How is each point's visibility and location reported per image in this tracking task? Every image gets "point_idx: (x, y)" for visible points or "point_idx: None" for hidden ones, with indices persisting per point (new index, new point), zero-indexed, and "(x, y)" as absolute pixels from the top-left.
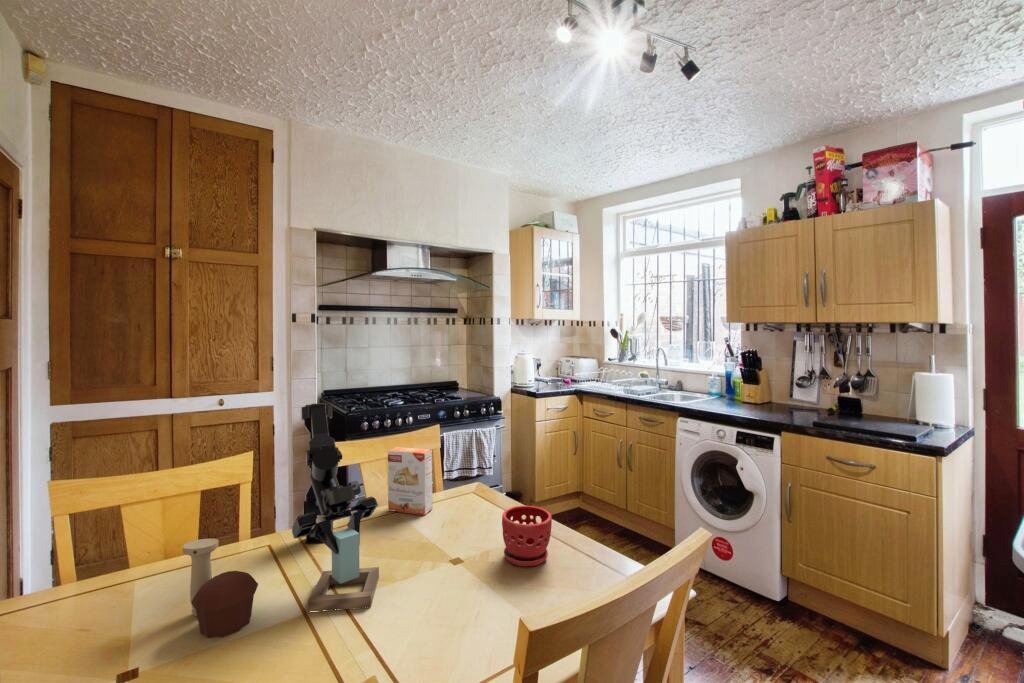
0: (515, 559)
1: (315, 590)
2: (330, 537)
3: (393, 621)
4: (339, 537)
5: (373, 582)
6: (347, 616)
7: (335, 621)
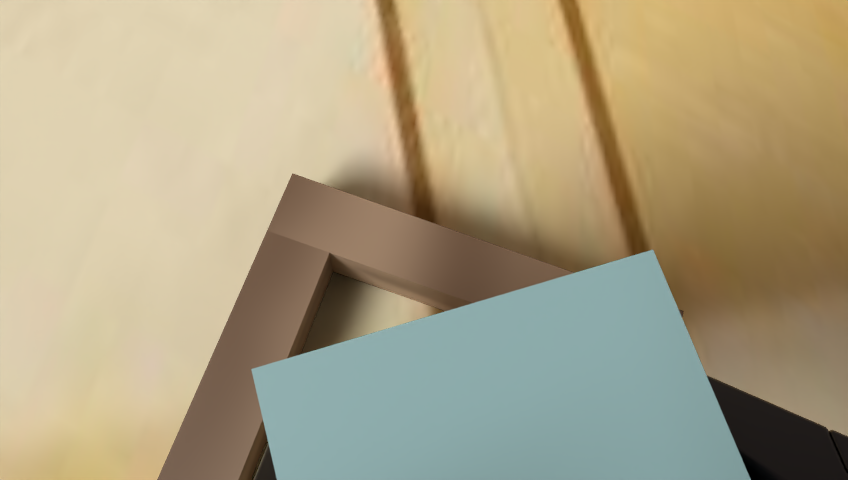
0: None
1: None
2: (834, 447)
3: (224, 21)
4: (662, 347)
5: (223, 351)
6: (438, 181)
7: (503, 166)
